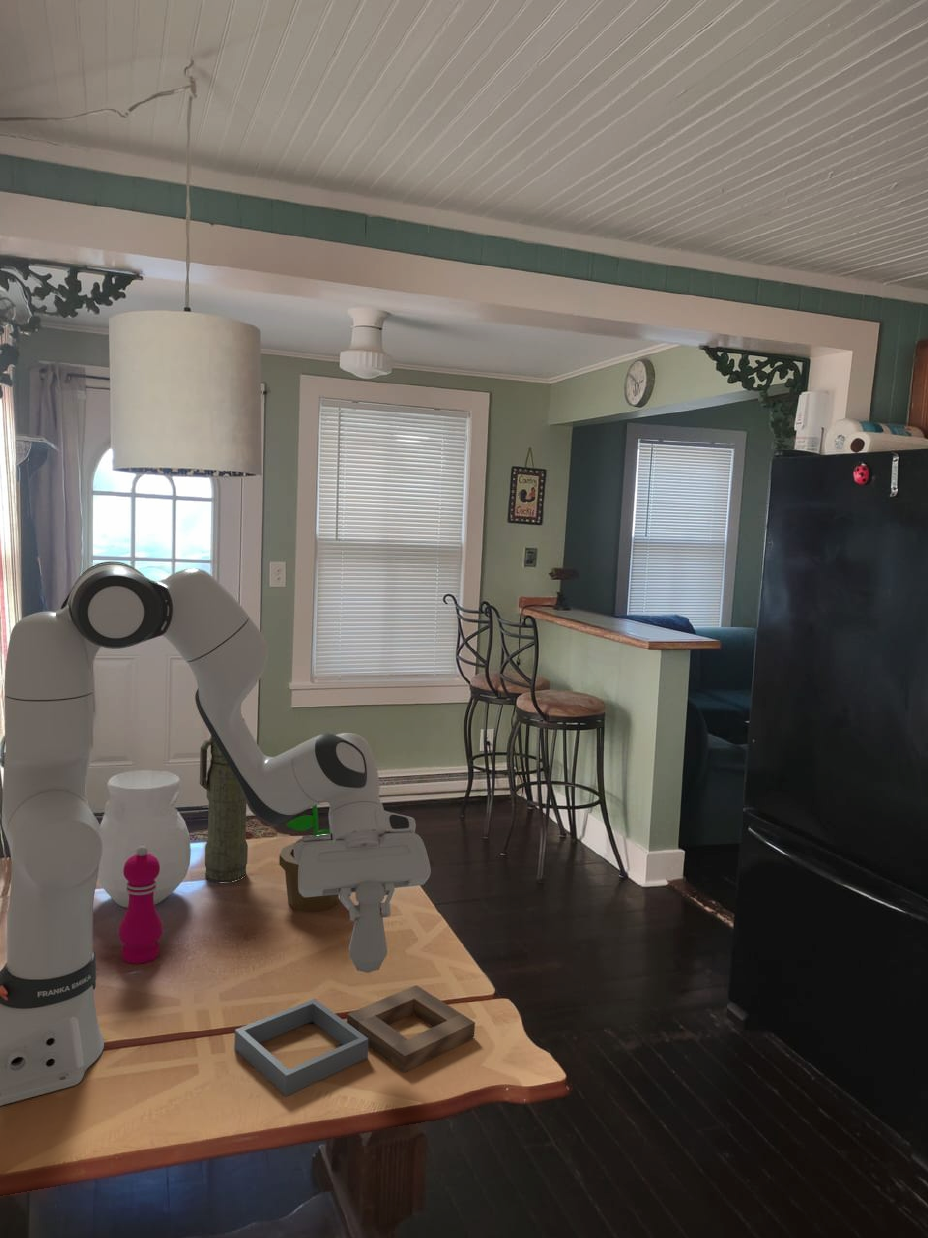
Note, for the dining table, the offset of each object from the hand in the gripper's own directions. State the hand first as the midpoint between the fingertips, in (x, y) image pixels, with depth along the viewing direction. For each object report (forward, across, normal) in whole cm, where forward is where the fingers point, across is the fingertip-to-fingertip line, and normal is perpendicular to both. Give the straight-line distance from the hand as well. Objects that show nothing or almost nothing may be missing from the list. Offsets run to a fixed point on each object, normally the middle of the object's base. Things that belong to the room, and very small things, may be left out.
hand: (370, 918), depth 133 cm
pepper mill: (-11, -33, +39) cm, 52 cm away
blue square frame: (+14, -10, +14) cm, 22 cm away
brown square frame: (+14, +7, +15) cm, 21 cm away
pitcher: (-28, -34, +56) cm, 71 cm away
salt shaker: (+5, 0, +6) cm, 8 cm away
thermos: (-34, -17, +63) cm, 73 cm away
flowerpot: (-22, 0, +51) cm, 56 cm away
